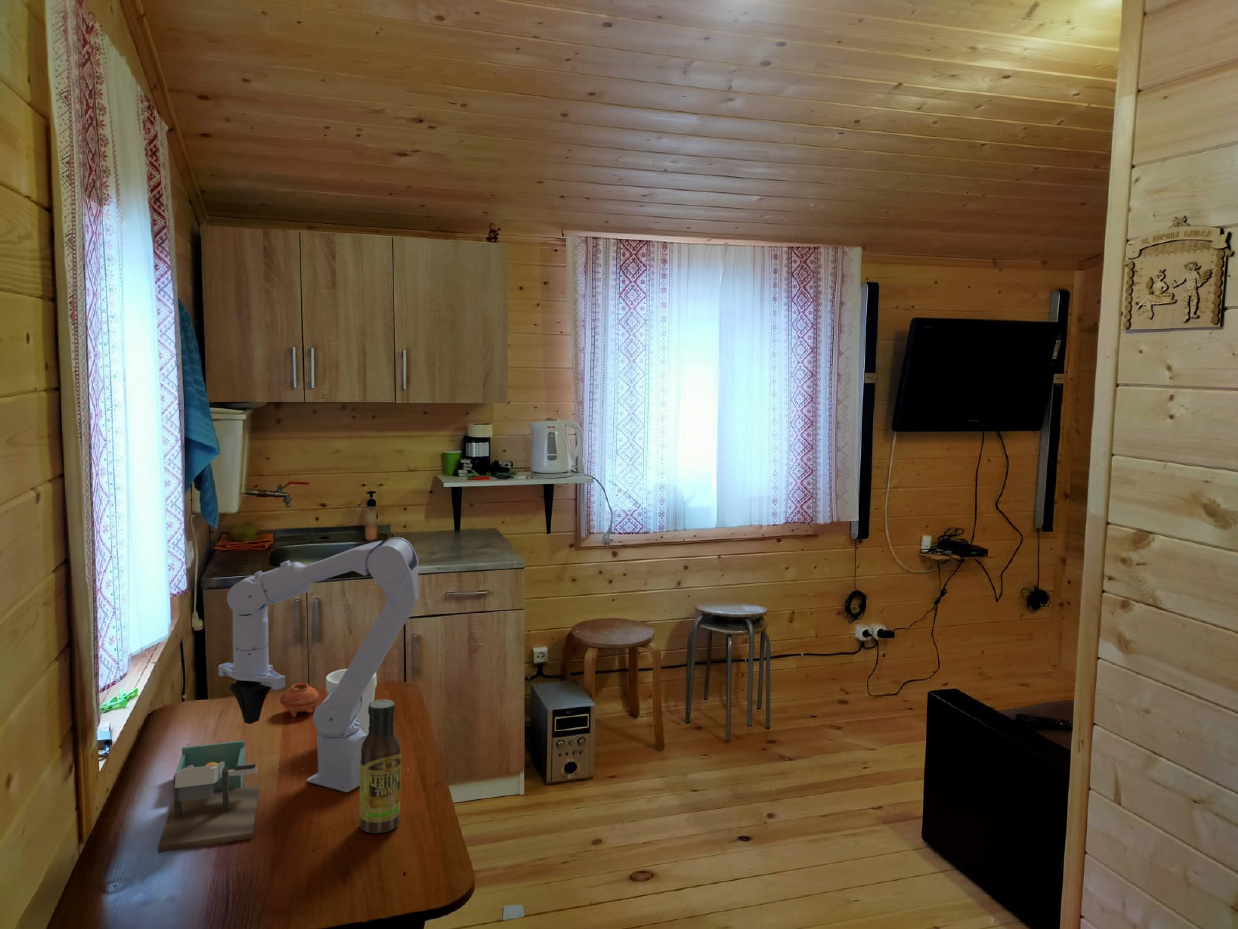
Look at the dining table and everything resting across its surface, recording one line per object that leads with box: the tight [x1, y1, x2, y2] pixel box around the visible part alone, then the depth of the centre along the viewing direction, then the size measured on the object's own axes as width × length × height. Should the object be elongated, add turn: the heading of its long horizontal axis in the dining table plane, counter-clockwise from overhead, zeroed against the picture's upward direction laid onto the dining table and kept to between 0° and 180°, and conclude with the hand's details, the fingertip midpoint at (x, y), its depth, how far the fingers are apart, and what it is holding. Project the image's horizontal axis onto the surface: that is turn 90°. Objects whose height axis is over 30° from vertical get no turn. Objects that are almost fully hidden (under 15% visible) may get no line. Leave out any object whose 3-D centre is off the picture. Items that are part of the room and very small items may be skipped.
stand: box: [157, 767, 260, 853], centre depth 141 cm, size 17×13×8 cm
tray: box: [174, 761, 258, 801], centre depth 142 cm, size 16×11×5 cm, turn 19°
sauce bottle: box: [358, 698, 402, 834], centre depth 139 cm, size 6×6×20 cm
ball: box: [205, 762, 218, 768], centre depth 155 cm, size 3×3×3 cm
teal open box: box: [175, 739, 246, 791], centre depth 154 cm, size 10×10×5 cm
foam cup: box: [325, 668, 378, 735], centre depth 173 cm, size 10×9×13 cm
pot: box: [279, 682, 321, 718], centre depth 188 cm, size 8×8×7 cm
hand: (251, 721), depth 155 cm, fingers closed
